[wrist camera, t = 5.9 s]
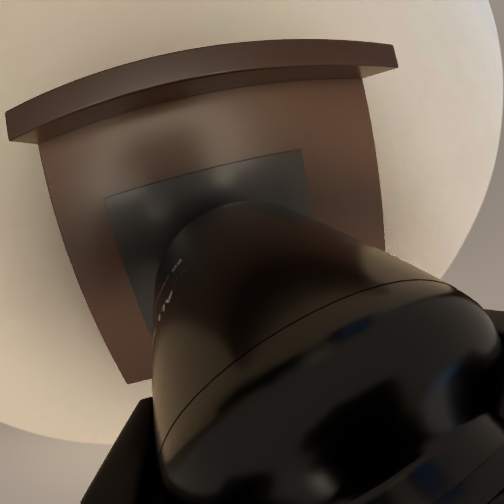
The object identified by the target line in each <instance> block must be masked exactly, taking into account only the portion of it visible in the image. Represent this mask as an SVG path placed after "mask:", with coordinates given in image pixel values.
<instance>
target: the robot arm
mask: <svg viewBox="0 0 504 504" xmlns="http://www.w3.org/2000/svg"><path fill="white" fill-rule="evenodd" d="M484 310H485V312H486V313H487V314H488V316H489V317H490V319H491V320H492V322H493V324H494V326H495V328H496V330H497V332H498V335H499V337H500V339H501V343H502V346H503V350H504V311H494V310H487V309H484ZM500 415H501V417H502V418H504V391H503V396H502V402H501V407H500ZM80 503H81V504H164V501H163V498H162V494H161V489H160V482H159V478H158V471H157V461H156V449H155V435H154V418H153V397H150V398H145V399H142V400H140V401H139V403H138V404H137V406H136V408H135V409H134V411H133V413H132V414H131V416H130V418H129V419H128V421H127V423H126V424H125V426H124V428H123V430H122V431H121V433H120V435H119V436H118V438H117V440H116V441H115V443H114V445H113V447H112V448H111V450H110V452H109V453H108V455H107V457H106V459H105V460H104V462H103V464H102V465H101V467H100V469H99V471H98V472H97V474H96V476H95V478H94V479H93V481H92V483H91V485H90V486H89V488H88V490H87V491H86V493H85V495H84V497H83V498H82V500H81V502H80Z"/></svg>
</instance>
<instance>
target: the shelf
mask: <svg viewBox="0 0 504 504" xmlns="http://www.w3.org/2000/svg"><path fill="white" fill-rule="evenodd" d="M395 68H398V63H397V59H396V55H395V51H394V48H393V45H390V44H382V43H373V42H363V41H350V40H330V39H283V40H263V41H250V42H239V43H230V44H222V45H214V46H207V47H201V48H195V49H189V50H184V51H178V52H173V53H168V54H164V55H159V56H155V57H151V58H147V59H143V60H139V61H135V62H131V63H128V64H124V65H121V66H117V67H114V68H111V69H107V70H104V71H101V72H98V73H95V74H92V75H89V76H86V77H84V78H81V79H78V80H75V81H73V82H70V83H68V84H65V85H62V86H60V87H58V88H55V89H53V90H50V91H48V92H46V93H43V94H41V95H39V96H37V97H35V98H32V99H30V100H28V101H26V102H24V103H22V104H20V105H18V106H16V107H14V108H12V109H10V110H8V111H6V112H5V117H6V125H7V132H8V138H9V141H13V142H23V143H32V144H38V146H39V151H40V156H41V161H42V165H43V170H44V174H45V178H46V183H47V187H48V191H49V194H50V198H51V202H52V205H53V209H54V213H55V216H56V219H57V223H58V226H59V229H60V232H61V235H62V238H63V241H64V244H65V247H66V250H67V253H68V256H69V259H70V262H71V264H72V267H73V270H74V272H75V275H76V278H77V280H78V283H79V285H80V288H81V290H82V293H83V295H84V297H85V300H86V302H87V304H88V307H89V309H90V311H91V314H92V316H93V318H94V320H95V322H96V325H97V327H98V329H99V331H100V333H101V335H102V337H103V339H104V341H105V343H106V345H107V347H108V349H109V351H110V353H111V355H112V357H113V359H114V361H115V363H116V365H117V367H118V368H119V370H120V372H121V374H122V376H123V377H124V379H125V381H126V383H127V384H130V383H135V382H139V381H143V380H147V379H151V378H152V322H153V297H154V286H155V280H156V275H157V271H158V268H159V265H160V262H161V260H162V257H163V255H164V253H165V252H166V250H167V248H168V246H169V245H170V243H171V242H172V241H173V239H174V238H175V237H176V236H177V234H178V233H179V232H180V231H181V230H182V229H183V228H184V227H185V226H186V225H188V224H189V223H190V222H191V221H193V220H194V219H195V218H197V217H199V216H200V215H202V214H203V213H205V212H207V211H209V210H211V209H214V208H217V207H219V206H222V205H226V204H229V203H234V202H241V201H260V202H267V203H272V204H276V205H280V206H282V207H285V208H288V209H291V210H293V211H296V212H298V213H301V214H303V215H305V216H308V217H310V218H312V219H314V220H317V221H319V222H321V223H323V224H326V225H328V226H330V227H332V228H335V229H337V230H339V231H341V232H343V233H346V234H348V235H350V236H352V237H354V238H356V239H359V240H361V241H363V242H365V243H367V244H369V245H371V246H374V247H376V248H378V249H380V250H382V251H384V252H385V240H384V224H383V212H382V201H381V191H380V182H379V173H378V166H377V158H376V151H375V145H374V138H373V132H372V126H371V121H370V115H369V110H368V105H367V100H366V95H365V90H364V86H363V81H362V78H365V77H368V76H372V75H375V74H378V73H381V72H385V71H388V70H392V69H395Z"/></svg>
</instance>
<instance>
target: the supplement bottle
mask: <svg viewBox="0 0 504 504" xmlns="http://www.w3.org/2000/svg"><path fill="white" fill-rule="evenodd" d="M503 391H504V350H503V346H502V343H501V339H500V337H499V335H498V332H497V330H496V328H495V326H494V324H493V322H492V320H491V319H490V317H489V316H488V314H487V313H486V312H485V310H484V309H483V308H482V307H481V306H480V305H479V304H478V303H477V302H476V301H474V300H473V299H472V298H470V297H469V296H467V295H466V294H464V293H463V292H461V291H459V290H457V289H456V288H455V287H453V286H451V285H449V284H447V283H446V282H444V281H442V280H440V279H438V278H436V277H434V276H432V275H430V274H428V273H426V272H425V271H423V270H421V269H419V268H417V267H415V266H413V265H411V264H409V263H407V262H405V261H403V260H400V259H398V258H396V257H394V256H392V255H390V254H388V253H386V252H384V251H382V250H380V249H378V248H376V247H374V246H371V245H369V244H367V243H365V242H363V241H361V240H359V239H356V238H354V237H352V236H350V235H348V234H346V233H343V232H341V231H339V230H337V229H335V228H332V227H330V226H328V225H326V224H323V223H321V222H319V221H317V220H314V219H312V218H310V217H308V216H305V215H303V214H301V213H298V212H296V211H293V210H291V209H288V208H285V207H282V206H280V205H276V204H272V203H267V202H260V201H241V202H234V203H229V204H226V205H222V206H219V207H217V208H214V209H211V210H209V211H207V212H205V213H203V214H202V215H200V216H199V217H197V218H195V219H194V220H193V221H191V222H190V223H189V224H188V225H186V226H185V227H184V228H183V229H182V230H181V231H180V232H179V233H178V234H177V236H176V237H175V238H174V239H173V241H172V242H171V243H170V245H169V246H168V248H167V250H166V252H165V253H164V255H163V257H162V260H161V262H160V265H159V268H158V271H157V275H156V280H155V286H154V297H153V322H152V392H153V418H154V435H155V449H156V461H157V471H158V478H159V482H160V489H161V494H162V498H163V501H164V504H504V418H502V417H501V415H500V407H501V402H502V396H503Z"/></svg>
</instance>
